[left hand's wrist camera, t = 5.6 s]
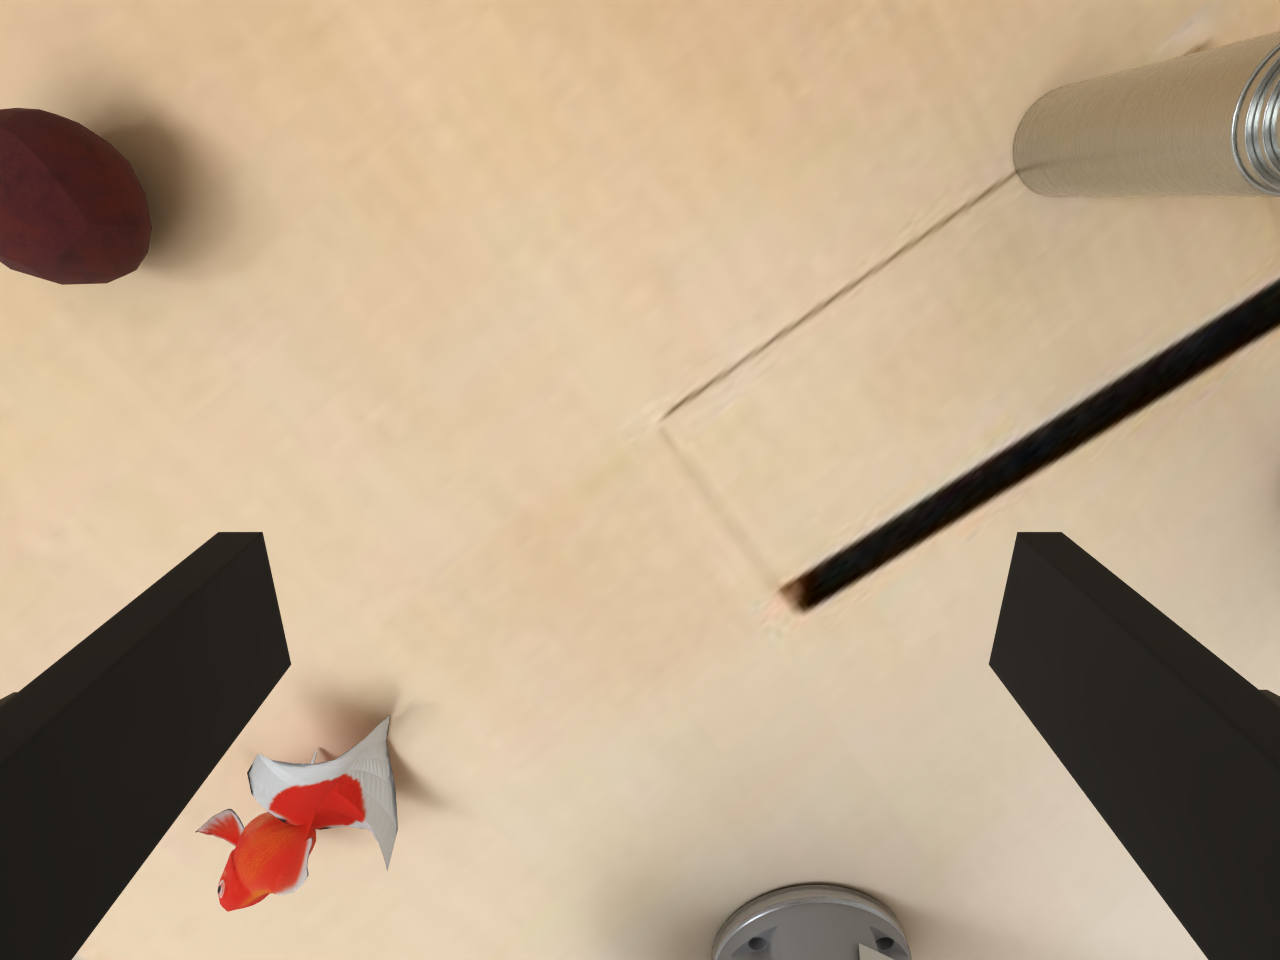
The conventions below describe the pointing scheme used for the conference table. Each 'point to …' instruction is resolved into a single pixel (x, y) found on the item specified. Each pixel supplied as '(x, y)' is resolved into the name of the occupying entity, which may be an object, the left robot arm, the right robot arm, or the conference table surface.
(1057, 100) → the bottle
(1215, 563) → the conference table surface
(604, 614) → the conference table surface
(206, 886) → the conference table surface
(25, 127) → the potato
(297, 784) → the fish
